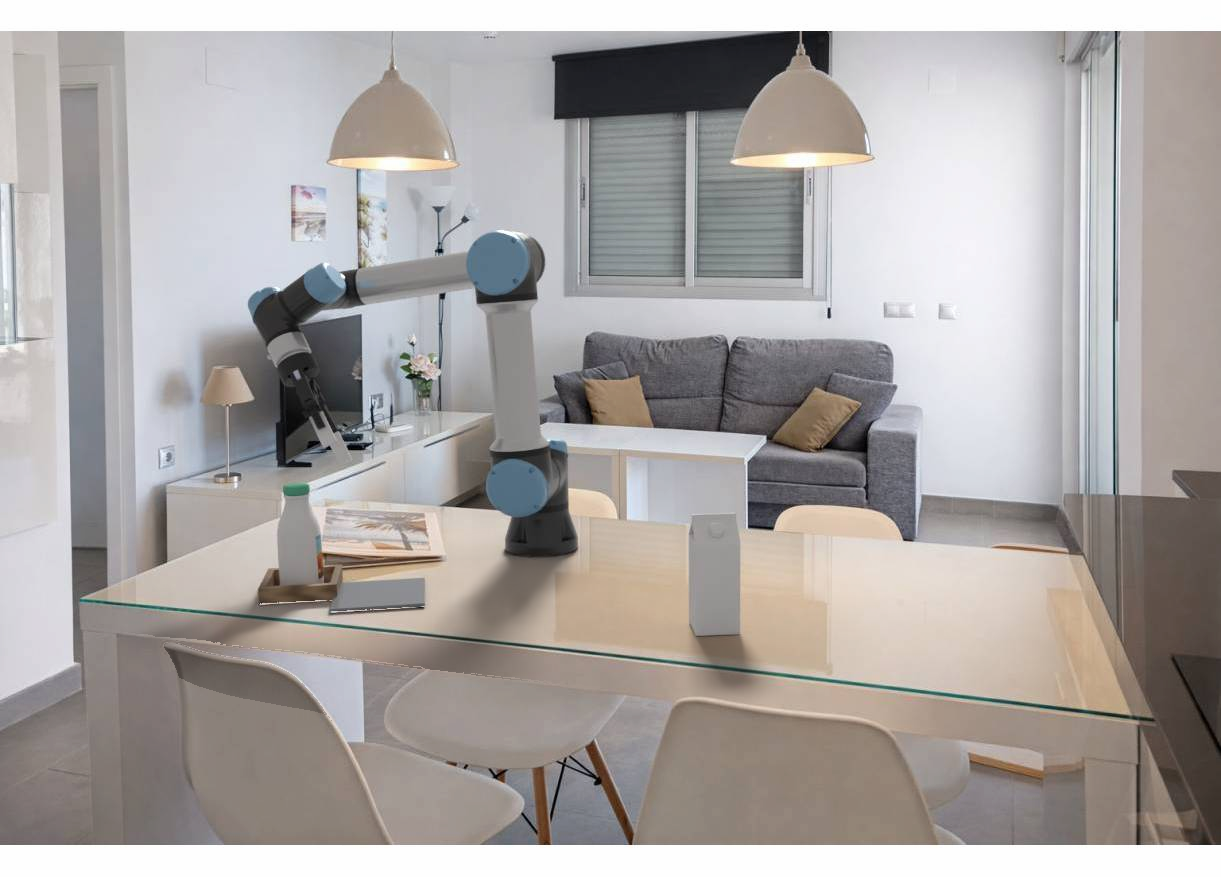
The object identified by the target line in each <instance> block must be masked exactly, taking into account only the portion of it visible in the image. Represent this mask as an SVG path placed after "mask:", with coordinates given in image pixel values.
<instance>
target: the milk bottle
mask: <svg viewBox="0 0 1221 877" xmlns="http://www.w3.org/2000/svg"><path fill="white" fill-rule="evenodd" d="M310 491H311V490H310V484H308V483H307V482H292V483H286V484H284V485H283V486H282V493H283V498H284V507H283V510H282V513H281V516H280V518H279V521H278V525H277V529H276V530H277V531H276V532H277V534H276V536H277V539H276V540H277V557H278V558H277V560H278V568H279V578H280V585H279V586H286V585H303V584H320V583H324V574H323V565H324V561H323V560H324V558H323V546H322V534H321V533H322V532H321V531H322V530H321V526H320V522H319V520H318V517H317V516H316V514H315V512H314V510H313V508H312V506H311V503H310V498H309V497H311V494H310V493H311V492H310Z"/></svg>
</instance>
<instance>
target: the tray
mask: <svg viewBox="0 0 1221 877" xmlns="http://www.w3.org/2000/svg"><path fill="white" fill-rule="evenodd" d="M343 573H344V572H343V564H342V563H341V564H326V565H325V564H323V574H324V583H320V584H303V585H286V586H280V578H279V567H274V568H273V567H271V568H267V571H266V573H265V574H264V576H263V578H262V580H261V583H260V585H259V586H258V588H257V592H258V593H257V595H258V605H259V604H260V603H261V604H262V603H277V602H278V603H279V602H296V601H315V600H332V599H333V597H336V596H337V595H338V592H339V588H340V584H341V583H343V582H344V577H343Z"/></svg>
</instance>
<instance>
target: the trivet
mask: <svg viewBox="0 0 1221 877" xmlns="http://www.w3.org/2000/svg"><path fill="white" fill-rule="evenodd" d="M425 578H426V577H416V578H415V577H413V578H412V577H411V578H398V579H397V578H395V579H381V580H380V579H379V580H363V581H348V582H347V581H346V582H345V581H342V583H341V584H340V588H339V592H338V595H337V596H336V597H333V599H332V601H331V603H330V608H329V612H330V611H347V610H365V609H367V610H370V609H372V610H373V609H387V608H402V607H421V606H425V607H426V579H425Z"/></svg>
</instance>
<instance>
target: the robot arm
mask: <svg viewBox="0 0 1221 877" xmlns="http://www.w3.org/2000/svg"><path fill="white" fill-rule="evenodd" d="M545 268H546V255H545V251H544V249H543V247H542V245H541V244H540V243H539V241H538V240H537V239H535V238H534V237H533V236H531V235H530V234H529V233H528V234H527V233H526V232H522V231H514V230H509V229H498V230H492V231H489V232H486V233H484V234H481V235H480V236H478V238H476V239H475V241H474V242H473V243H472V245H471V246H470V248H469V249H468V250H465V251H459V252H454V253H453V252H451V253H447V254H441V255H440V254H439V255H435V256H429V257H422V258H417V259H411V260H404V261H398V262H392V263H386V264H385V263H384V264H380V265H379V264H378V265H375V266H374V265H373V266H368V267H367V266H366V267H362V268H357V269H356V268H355V269H347V270H342V271H338V269H336V268H335V267H334V266H333V265H331V264H329V263H328V262H320V263H319V264H317V265H315V266H313V267H311V268H309V269H307V271H306V272H305V273H304V274H302V275H301V276H299V277H298V278H297V279H295V280H294V281H293V282H291V283H290V284H289V285H287V286H286V287H285V288H283V289H281V288H279V287H276V286H266V287H264V288H262V289H261V290H257V291H255V292H254V293H253V294H252V295H251V296H250V297H249V299H248V300H247V308H248V311H249V313H250V316H251V318H252V322H253V325H255V327H256V329H257V331H258V334H259V335H260V337H261V339H262V341H263V343H264V346H265V348H266V349H267V351H268V353H269V354H267V356H266V357H267V359H268V360H271V361H272V362H273V365H274V367H275V368H276V372H277V374H278V376H279V379H280V380H281V382H282V384H283V386H286V387H289V388H293V387H294V390H295V392H296V394H297V395H298V397H299V400H300V403H301V405H302V406H301V407H302V408H303V409H304V411H302V412H301V414H302V415H303V417H304V418H309V421H310V423H311V426H312V427H313V429H314V432H315V434H316V436H317V437H318V439H319V442H320V444H321V446H322V448H323V449H324V448H327V447H329V446H330V447H329V448H331V451H332V452H333V456H334V457H335V459H336V461H337V463H338V466H339V467H342V466H343V465H346V464H347V463H349V462H351V461H353V458H352V456H351V454H350V452H349V449H348V447H347V445H346V444H345V441H344V439H343V437H342V435H341V433H342V432H343V429H342V427H339V428H338V425H336V422H335V421H334V418H333V416H332V415H331V413H330V411H329V408H328V407H327V405H326V401H325V399H324V396H323V395H322V393H321V390H320V389H321V388H320V386H319V385H318V383H316V381H315V379H314V378H316V376H318V375H319V372H320V366H319V364H318V362H317V361H316V358H315V356H314V354H313V353H312V349H311V348H310V345H309V343H308V341H307V339H306V337H305V334H304V333H303V332H302V329H301V327H300V326H301V325H303V324H304V323H306V322H307V321H309V320H310V319H311V318H313V317H314V316H316V315H318V313H320V312H322V311H323V312H324V311H333V310H339V309H340V310H346V309H353V308H355V307H361V306H363V307H364V306H367V305H373V304H380V303H386V302H387V303H388V302H392V301H398V300H399V301H400V300H405V299H412V298H413V299H414V298H420V297H426V296H432V295H439V294H446V293H452V292H460V291H465V290H466V291H468V290H472V289H473V290H475V300H476V306H477V307H478V308H479V309H480V310H481V311H483V312H484V315H485V322H486V333H487V335H486V336H487V347H488V357H489V358H488V359H489V368H490V380H491V389H492V402H493V414H494V424H495V435H496V436H495V437H496V438H495V439H494V441H493V442H492V443H491V444H490V446H489V458H490V459H489V460H490V471H489V472H488V473H487V477H486V482H485V490H486V491H485V492H486V495H487V498H488V500H489V501H490V503H491V505H492V506H493V507H494V508H495V509H497V510H498V511H499V512H500V513H501V514H503V515H505V516H508V517H510V519H509V520H510V521H509V523H508V527H507V531H506V534H505V538H504V549H505V551H506V552H508V553H509V554H513V555H516V556H521V557H522V556H523V557H531V558H532V557H533V558H534V557H537V558H539V557H541V558H542V557H552V556H560V555H561V556H562V555H566V554H569V553H572V552H575V551H576V550H577V549H578V547H579V541H578V540H579V538H578V533H577V530H576V527H575V524H574V522H573V519H572V516H571V513H570V509H569V506H570V505H569V502H570V501H569V452H568V450H569V449H568V444H567V442H566V440H563V439H561V438H546V437H544V436H543V435H542V431H541V430H542V429H541V421H540V420H541V419H540V408H539V396H538V395H539V394H538V393H539V392H538V383H537V382H538V381H537V370H536V361H535V360H536V357H535V346H534V345H535V344H534V334H533V322H532V309H533V308H534V306H535V305H536V304H537V302H538V301H539V296H538V283H539V281H540V280H541V278H542V277H543V275H544V272H545Z"/></svg>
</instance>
